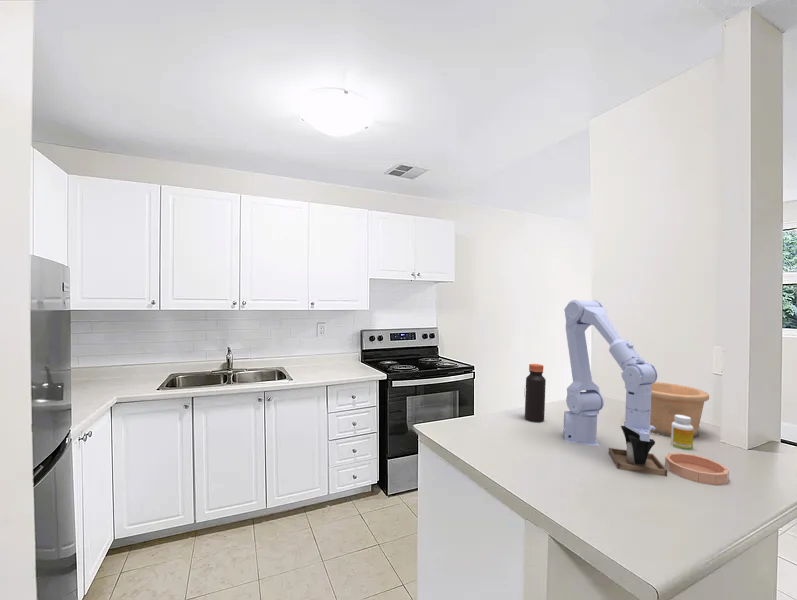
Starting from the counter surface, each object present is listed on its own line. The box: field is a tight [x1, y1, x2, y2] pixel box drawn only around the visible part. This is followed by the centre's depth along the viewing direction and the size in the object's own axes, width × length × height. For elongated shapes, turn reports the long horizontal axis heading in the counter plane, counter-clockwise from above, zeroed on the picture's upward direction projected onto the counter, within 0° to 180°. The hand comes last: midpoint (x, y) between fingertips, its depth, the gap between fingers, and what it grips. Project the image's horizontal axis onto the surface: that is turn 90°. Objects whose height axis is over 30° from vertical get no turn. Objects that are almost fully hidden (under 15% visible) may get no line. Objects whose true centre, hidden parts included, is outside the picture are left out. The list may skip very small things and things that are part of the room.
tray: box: [608, 447, 668, 477], centre depth 103 cm, size 11×11×2 cm
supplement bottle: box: [670, 415, 694, 451], centre depth 117 cm, size 5×5×10 cm
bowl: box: [664, 452, 730, 486], centre depth 99 cm, size 13×13×3 cm
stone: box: [626, 442, 646, 467], centre depth 103 cm, size 4×4×5 cm
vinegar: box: [524, 363, 547, 423], centre depth 140 cm, size 7×7×20 cm
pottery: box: [650, 381, 710, 438], centre depth 134 cm, size 22×22×14 cm
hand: (636, 458), depth 103 cm, fingers open, 6 cm apart
